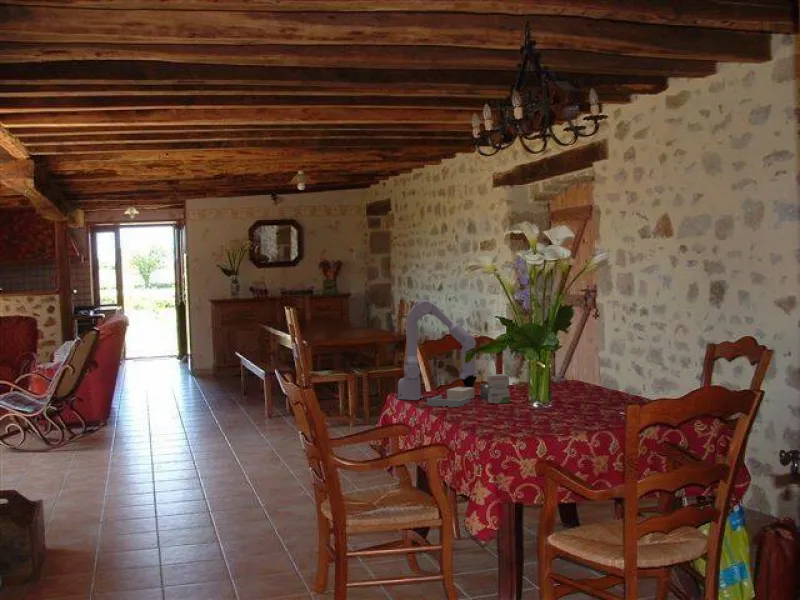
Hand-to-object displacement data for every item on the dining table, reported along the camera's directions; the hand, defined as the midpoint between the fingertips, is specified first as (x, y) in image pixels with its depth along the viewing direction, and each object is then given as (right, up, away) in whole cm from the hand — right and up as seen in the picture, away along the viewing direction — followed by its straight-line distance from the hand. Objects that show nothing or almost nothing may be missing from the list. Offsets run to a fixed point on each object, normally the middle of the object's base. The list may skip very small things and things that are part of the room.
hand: (469, 393), depth 388 cm
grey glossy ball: (+7, -2, -7) cm, 11 cm away
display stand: (-10, -3, -19) cm, 21 cm away
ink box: (+11, -2, -17) cm, 21 cm away
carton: (-4, -2, -8) cm, 9 cm away
